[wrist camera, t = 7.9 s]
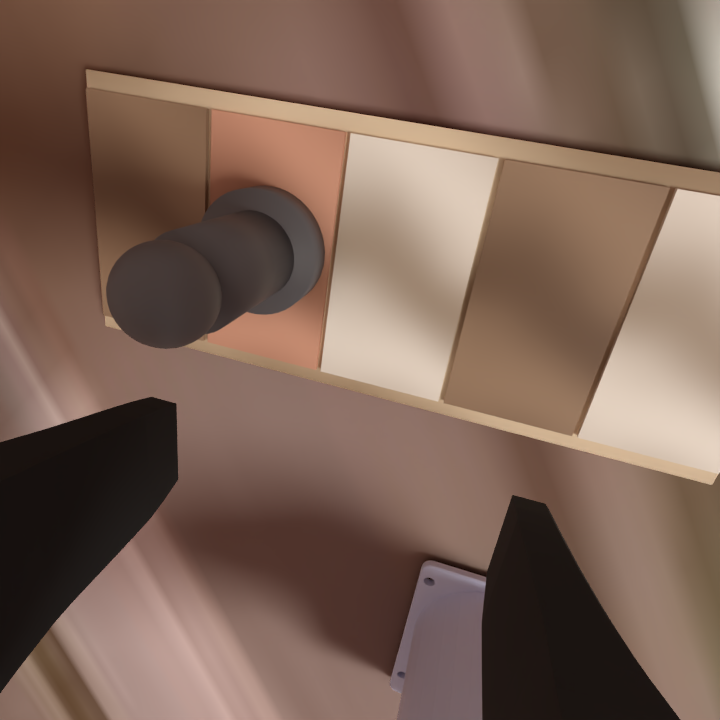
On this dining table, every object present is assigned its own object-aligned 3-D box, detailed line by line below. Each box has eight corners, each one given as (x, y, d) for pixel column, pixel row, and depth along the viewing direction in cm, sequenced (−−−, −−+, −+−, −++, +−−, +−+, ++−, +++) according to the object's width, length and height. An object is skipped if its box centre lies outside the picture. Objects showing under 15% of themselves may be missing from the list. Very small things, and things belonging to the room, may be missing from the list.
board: (704, 471, 19) (714, 488, 18) (118, 320, 23) (102, 327, 22) (857, 195, 15) (879, 198, 14) (101, 71, 19) (81, 68, 18)
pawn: (318, 316, 19) (212, 414, 13) (213, 291, 20) (61, 370, 13) (331, 197, 17) (216, 236, 11) (216, 175, 18) (39, 198, 11)
